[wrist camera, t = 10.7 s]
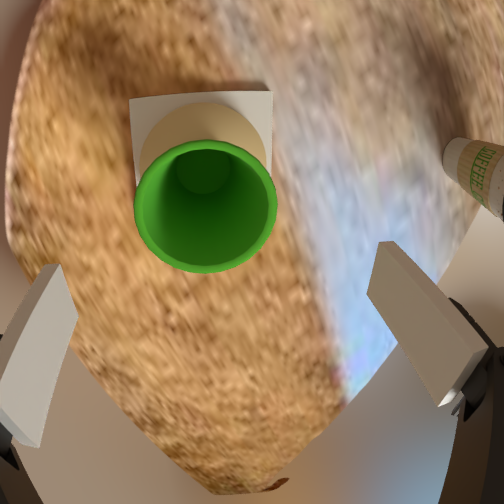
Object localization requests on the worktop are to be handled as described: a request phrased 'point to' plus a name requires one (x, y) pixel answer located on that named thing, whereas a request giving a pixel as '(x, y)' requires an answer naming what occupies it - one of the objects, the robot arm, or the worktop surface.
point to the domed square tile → (201, 123)
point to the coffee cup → (477, 171)
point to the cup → (205, 206)
